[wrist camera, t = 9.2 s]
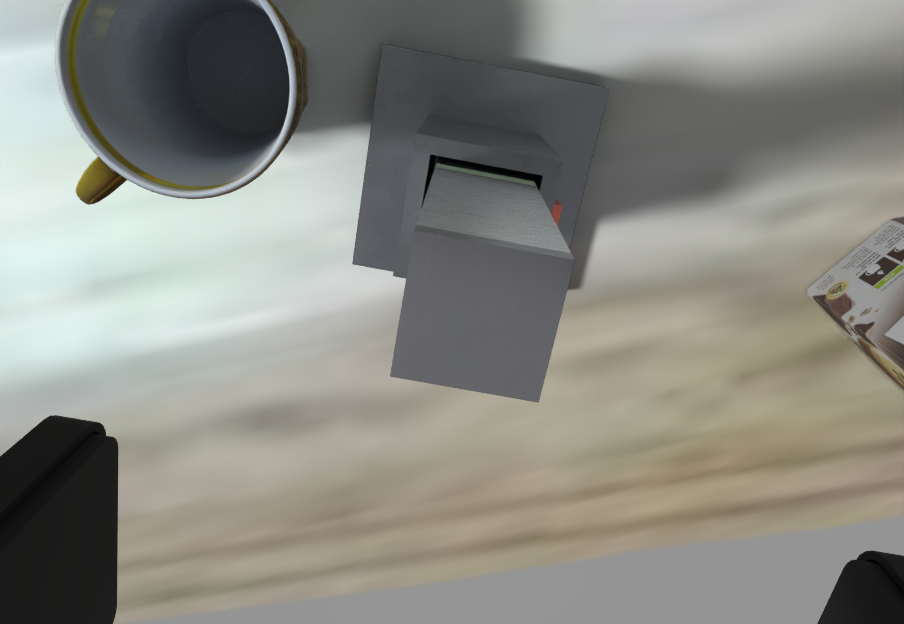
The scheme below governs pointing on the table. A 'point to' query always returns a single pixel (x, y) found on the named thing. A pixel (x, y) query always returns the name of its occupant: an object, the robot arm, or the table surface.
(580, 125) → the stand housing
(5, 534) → the robot arm
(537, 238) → the steel post
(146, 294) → the table surface
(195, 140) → the ceramic cup
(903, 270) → the coffee box
